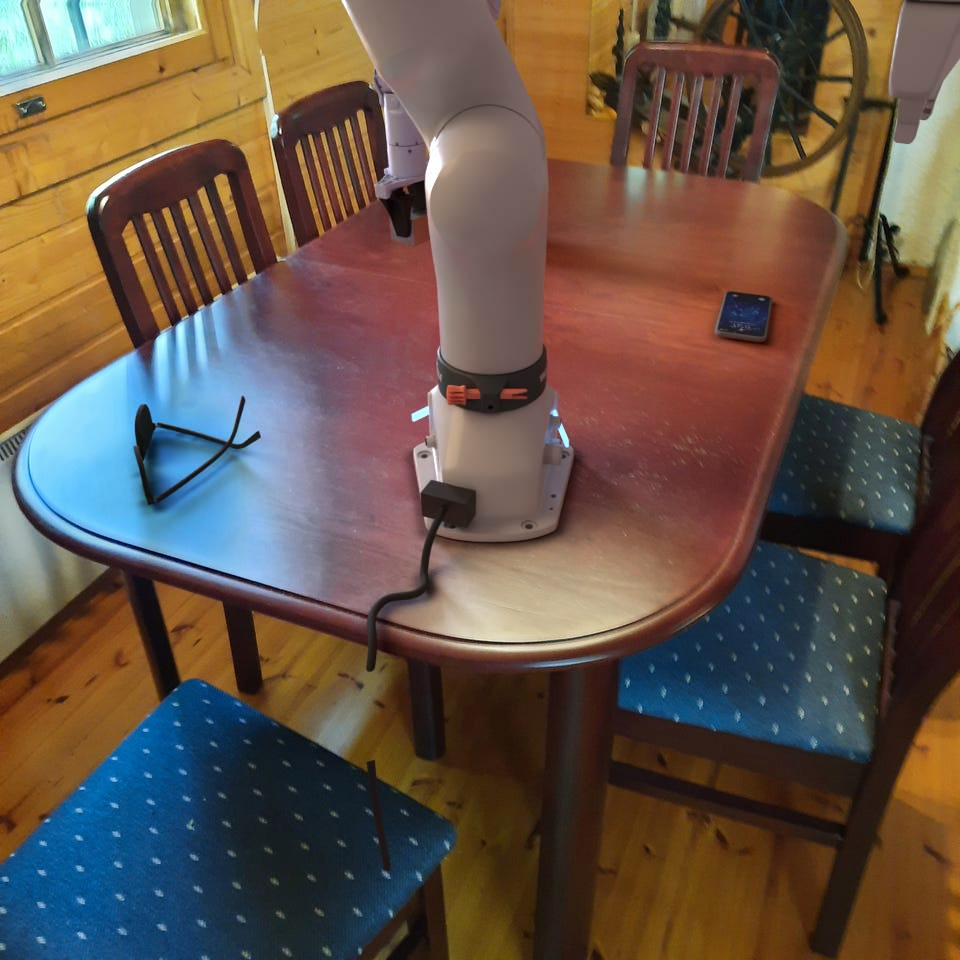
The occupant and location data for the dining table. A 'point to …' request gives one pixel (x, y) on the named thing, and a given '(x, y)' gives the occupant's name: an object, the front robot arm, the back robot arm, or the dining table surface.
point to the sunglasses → (147, 427)
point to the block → (414, 229)
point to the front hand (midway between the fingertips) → (912, 129)
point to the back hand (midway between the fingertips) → (412, 230)
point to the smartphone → (744, 316)
